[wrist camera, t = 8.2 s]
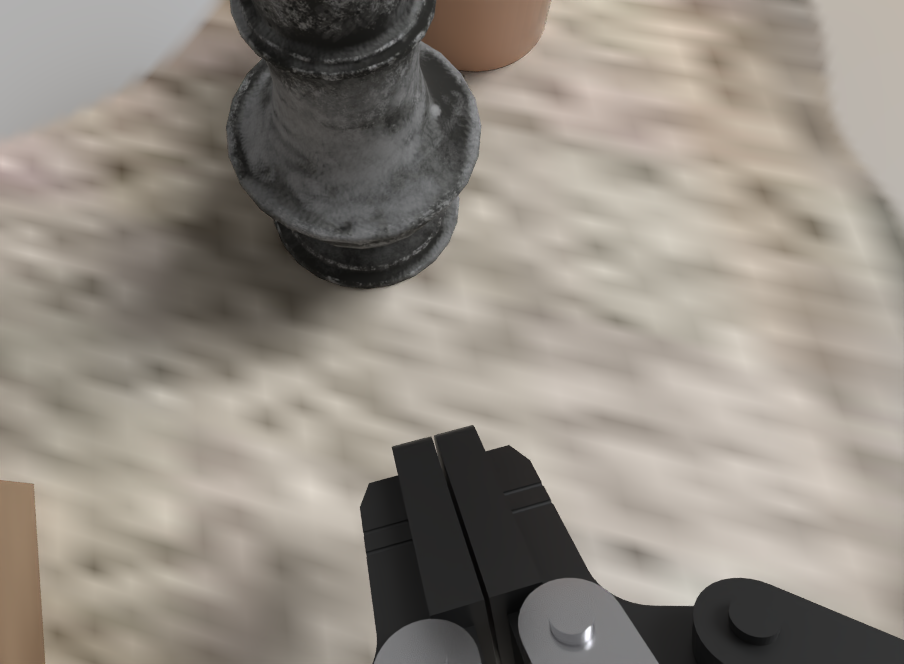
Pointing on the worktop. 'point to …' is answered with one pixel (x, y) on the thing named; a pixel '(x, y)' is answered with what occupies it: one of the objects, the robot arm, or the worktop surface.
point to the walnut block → (19, 577)
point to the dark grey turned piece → (352, 134)
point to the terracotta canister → (486, 31)
